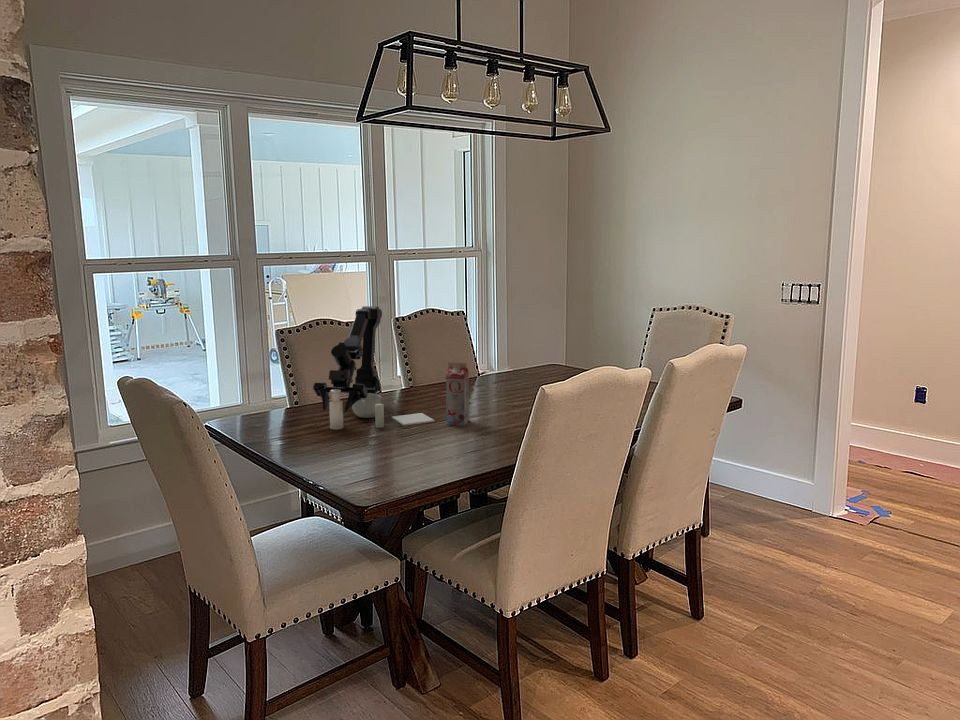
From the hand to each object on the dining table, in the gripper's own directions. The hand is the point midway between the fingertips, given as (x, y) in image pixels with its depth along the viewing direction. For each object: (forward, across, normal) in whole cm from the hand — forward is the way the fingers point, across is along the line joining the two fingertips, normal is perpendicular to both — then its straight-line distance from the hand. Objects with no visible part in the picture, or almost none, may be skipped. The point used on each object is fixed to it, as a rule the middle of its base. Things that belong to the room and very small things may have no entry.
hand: (334, 410), depth 266 cm
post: (+1, +14, +9) cm, 17 cm away
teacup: (-8, +5, +18) cm, 20 cm away
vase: (+4, 0, +6) cm, 7 cm away
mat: (-7, +23, +17) cm, 30 cm away
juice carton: (-7, +40, +16) cm, 44 cm away
